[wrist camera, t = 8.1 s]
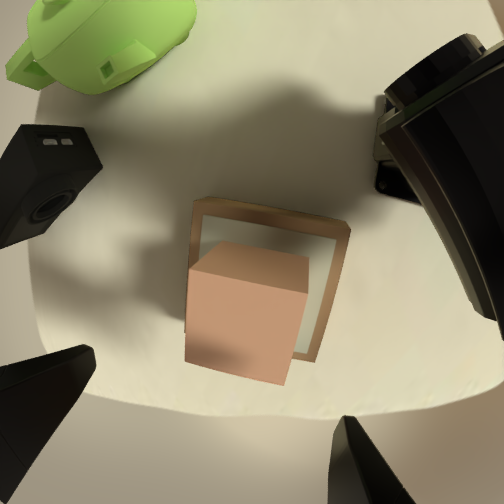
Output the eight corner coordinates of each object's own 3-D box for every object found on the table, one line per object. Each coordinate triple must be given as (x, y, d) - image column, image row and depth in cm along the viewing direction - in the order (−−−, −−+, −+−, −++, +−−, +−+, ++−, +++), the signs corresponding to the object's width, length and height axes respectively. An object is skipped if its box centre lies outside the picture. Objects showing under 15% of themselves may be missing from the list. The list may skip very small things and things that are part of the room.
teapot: (68, 96, 19) (-22, 86, 10) (111, -14, 15) (42, -55, 6) (183, 110, 18) (88, 77, 9) (233, -22, 14) (185, -103, 5)
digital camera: (48, 244, 23) (-6, 267, 17) (27, 198, 23) (-27, 212, 16) (111, 179, 20) (44, 190, 14) (84, 127, 20) (19, 124, 13)
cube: (291, 333, 18) (283, 385, 13) (213, 316, 19) (184, 361, 14) (309, 257, 16) (308, 294, 12) (222, 240, 17) (189, 268, 12)
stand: (345, 221, 18) (351, 229, 16) (314, 342, 21) (314, 363, 18) (207, 196, 19) (192, 201, 17) (196, 316, 22) (183, 333, 19)
